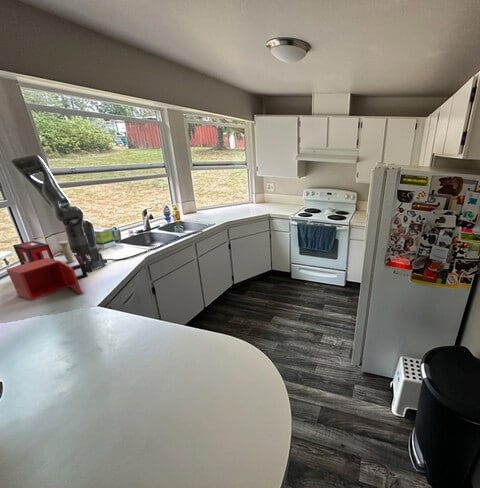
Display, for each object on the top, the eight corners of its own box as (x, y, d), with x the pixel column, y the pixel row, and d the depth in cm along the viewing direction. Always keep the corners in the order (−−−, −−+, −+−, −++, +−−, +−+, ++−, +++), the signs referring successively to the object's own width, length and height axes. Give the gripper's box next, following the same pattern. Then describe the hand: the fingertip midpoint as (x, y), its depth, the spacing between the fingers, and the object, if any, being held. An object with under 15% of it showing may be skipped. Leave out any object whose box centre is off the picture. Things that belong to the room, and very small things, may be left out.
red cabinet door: (83, 281, 150) (74, 258, 145) (94, 289, 143) (86, 264, 137) (68, 286, 145) (59, 261, 139) (80, 294, 137) (70, 268, 132)
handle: (65, 264, 172) (57, 243, 167) (66, 261, 177) (59, 241, 171) (75, 262, 175) (67, 242, 170) (76, 259, 180) (69, 239, 174)
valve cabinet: (69, 286, 146) (59, 261, 140) (31, 300, 131) (19, 273, 126) (56, 282, 149) (46, 257, 144) (18, 295, 135) (6, 269, 129)
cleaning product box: (59, 273, 159) (48, 244, 152) (40, 279, 151) (28, 249, 144) (44, 269, 164) (33, 240, 157) (25, 275, 156) (12, 245, 149)
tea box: (88, 247, 201) (82, 230, 196) (101, 243, 210) (95, 226, 205) (104, 249, 199) (99, 231, 194) (116, 244, 208) (111, 227, 203)
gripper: (94, 243, 136) (103, 271, 142) (80, 239, 142) (89, 266, 148) (76, 247, 130) (86, 277, 136) (63, 243, 135) (73, 271, 141)
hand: (88, 271), depth 142 cm, fingers closed
